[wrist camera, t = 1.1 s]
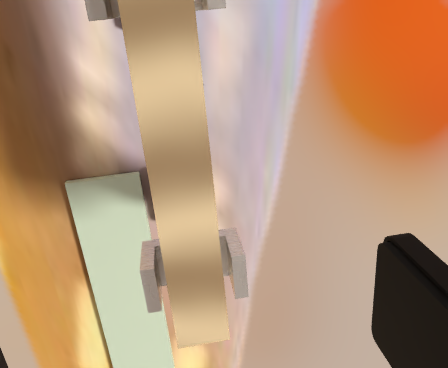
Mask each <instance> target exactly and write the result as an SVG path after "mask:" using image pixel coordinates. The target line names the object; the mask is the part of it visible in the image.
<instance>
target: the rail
mask: <svg viewBox="0 0 448 368" xmlns="http://www.w3.org/2000/svg"><path fill="white" fill-rule="evenodd" d="M118 6H119V12H120V18H121V23H122V29H123V35H124V41H125V46H126V52H127V58H128V64H129V69H130V75H131V81H132V87H133V92H134V98H135V104H136V110H137V115H138V121H139V127H140V133H141V138H142V144H143V150H144V156H145V161H146V167H147V173H148V179H149V184H150V190H151V196H152V202H153V207H154V213H155V219H156V225H157V230H158V236H159V242H160V248H161V253H162V259H163V265H164V271H165V276H166V282H167V288H168V294H169V299H170V305H171V311H172V317H173V322H174V328H175V334H176V340H177V345H178V349H179V348H184V347H190V346H196V345H202V344H207V343H213V342H219V341H225V340H230V335H229V326H228V316H227V307H226V297H225V288H224V278H223V269H222V259H221V250H220V240H219V231H218V222H217V212H216V203H215V193H214V184H213V174H212V165H211V155H210V146H209V137H208V127H207V118H206V108H205V99H204V89H203V80H202V70H201V61H200V52H199V42H198V33H197V23H196V14H195V4H194V0H118Z"/></svg>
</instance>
